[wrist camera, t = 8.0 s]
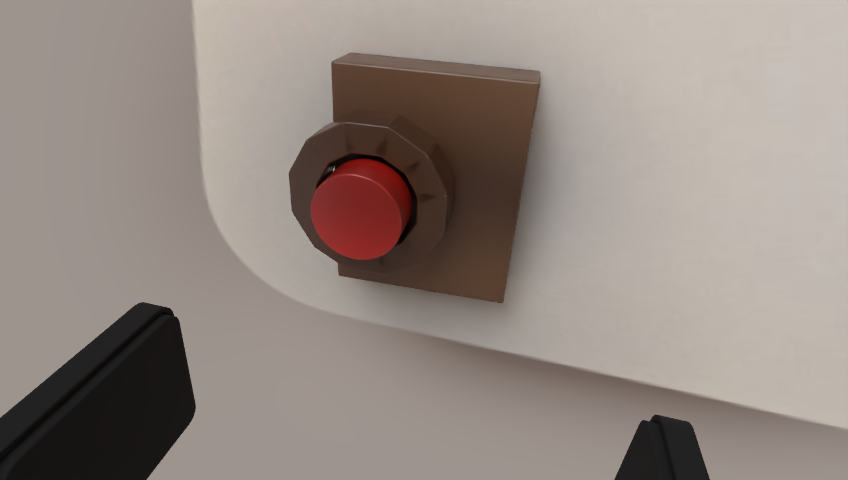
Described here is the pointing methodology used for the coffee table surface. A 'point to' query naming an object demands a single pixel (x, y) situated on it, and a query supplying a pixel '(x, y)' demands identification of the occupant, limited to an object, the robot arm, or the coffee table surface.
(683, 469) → the robot arm
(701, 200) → the coffee table surface
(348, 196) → the button
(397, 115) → the button block
